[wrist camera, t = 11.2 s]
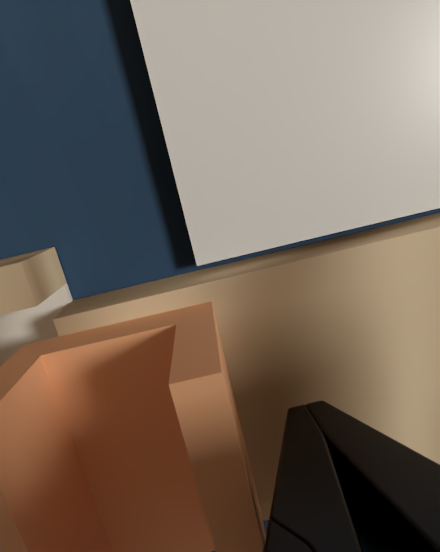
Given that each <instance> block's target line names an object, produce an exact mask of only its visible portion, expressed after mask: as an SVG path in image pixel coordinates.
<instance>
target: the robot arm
mask: <svg viewBox="0 0 440 552" xmlns="http://www.w3.org/2000/svg"><path fill="white" fill-rule="evenodd" d="M263 552H440V464H438V463H436V462H434V461H432V460H431V459H429V458H427V457H425V456H423V455H422V454H420V453H418V452H416V451H414V450H412V449H411V448H409V447H407V446H405V445H403V444H401V443H400V442H398V441H396V440H394V439H392V438H391V437H389V436H387V435H385V434H383V433H381V432H380V431H378V430H376V429H374V428H372V427H370V426H369V425H367V424H365V423H363V422H361V421H360V420H358V419H356V418H354V417H352V416H350V415H349V414H347V413H345V412H343V411H341V410H340V409H338V408H336V407H334V406H332V405H330V404H329V403H327V402H325V401H322V400H321V401H316V402H312V403H308V404H306V405H300V406H295V407H291V408H289V409H288V411H287V416H286V422H285V428H284V434H283V440H282V446H281V451H280V457H279V463H278V469H277V475H276V481H275V487H274V493H273V499H272V504H271V510H270V516H269V522H268V527H267V532H266V538H265V543H264V548H263Z"/></svg>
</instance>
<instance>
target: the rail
mask: <svg viewBox="0 0 440 552" xmlns="http://www.w3.org/2000/svg"><path fill="white" fill-rule="evenodd" d="M211 301H212V305H213V309H214V314H215V318H216V322H217V326H218V331H219V335H220V339H221V343H222V347H223V352H224V356H225V360H226V364H227V369H228V373H229V377H230V381H231V385H232V390H233V394H234V398H235V402H236V407H237V411H238V415H239V419H240V423H241V428H242V432H243V436H244V440H245V445H246V449H247V453H248V457H249V461H250V466H251V470H252V474H253V478H254V483H255V487H256V491H257V495H258V499H259V504H260V508H261V513H262V518H263V521H265V520H269V516H270V510H271V504H272V499H273V493H274V487H275V481H276V475H277V469H278V463H279V457H280V451H281V446H282V440H283V434H284V428H285V422H286V416H287V411H288V409H289V408H291V407H295V406H300V405H306V404H308V403H312V402H316V401H321V400H322V401H325V402H327V403H329V404H330V405H332V406H334V407H336V408H338V409H340V410H341V411H343V412H345V413H347V414H349V415H350V416H352V417H354V418H356V419H358V420H360V421H361V422H363V423H365V424H367V425H369V426H370V427H372V428H374V429H376V430H378V431H380V432H381V433H383V434H385V435H387V436H389V437H391V438H392V439H394V440H396V441H398V442H400V443H401V444H403V445H405V446H407V447H409V448H411V449H412V450H414V451H416V452H418V453H420V454H422V455H423V456H425V457H427V458H429V459H431V460H432V461H434V462H436V463H438V464H440V213H436V214H432V215H427V216H423V217H419V218H415V219H411V220H407V221H402V222H398V223H394V224H390V225H386V226H381V227H377V228H373V229H369V230H365V231H361V232H356V233H352V234H348V235H344V236H340V237H335V238H331V239H327V240H323V241H319V242H315V243H310V244H306V245H302V246H298V247H294V248H290V249H285V250H281V251H277V252H273V253H269V254H264V255H260V256H256V257H252V258H248V259H244V260H239V261H235V262H231V263H227V264H223V265H219V266H214V267H210V268H206V269H202V270H198V271H193V272H189V273H185V274H181V275H177V276H173V277H168V278H164V279H160V280H156V281H152V282H148V283H143V284H139V285H135V286H131V287H127V288H122V289H118V290H114V291H110V292H106V293H102V294H97V295H93V296H89V297H85V298H81V299H77V300H72V297H71V294H70V291H69V288H68V285H67V282H66V279H65V276H64V273H63V270H62V267H61V265H60V262H59V259H58V256H57V253H56V250H55V247H52V248H48V249H43V250H39V251H35V252H31V253H27V254H22V255H18V256H14V257H10V258H6V259H1V260H0V367H1V366H2V365H3V364H4V363H5V362H6V361H7V360H8V359H9V358H10V357H11V356H13V355H14V354H15V353H16V352H17V351H18V350H19V349H20V348H21V347H22V346H23V345H24V344H28V343H33V342H37V341H41V340H46V339H50V338H54V337H59V336H63V335H67V334H72V333H76V332H80V331H85V330H89V329H93V328H98V327H102V326H106V325H111V324H115V323H119V322H124V321H128V320H132V319H137V318H141V317H145V316H150V315H154V314H158V313H163V312H167V311H172V310H176V309H180V308H185V307H189V306H193V305H198V304H202V303H206V302H211Z"/></svg>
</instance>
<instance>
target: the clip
mask: <svg viewBox="0 0 440 552" xmlns="http://www.w3.org/2000/svg"><path fill="white" fill-rule="evenodd" d="M265 538H266V533H265V528H264V523H263V518H262V513H261V508H260V504H259V499H258V495H257V491H256V487H255V483H254V478H253V474H252V470H251V466H250V461H249V457H248V453H247V449H246V445H245V440H244V436H243V432H242V428H241V423H240V419H239V415H238V411H237V407H236V402H235V398H234V394H233V390H232V385H231V381H230V377H229V373H228V369H227V364H226V360H225V356H224V352H223V347H222V343H221V339H220V335H219V331H218V326H217V322H216V318H215V314H214V309H213V305H212V301H211V302H206V303H202V304H198V305H193V306H189V307H185V308H180V309H176V310H172V311H167V312H163V313H158V314H154V315H150V316H145V317H141V318H137V319H132V320H128V321H124V322H119V323H115V324H111V325H106V326H102V327H98V328H93V329H89V330H85V331H80V332H76V333H72V334H67V335H63V336H59V337H54V338H50V339H46V340H41V341H37V342H33V343H28V344H24V345H23V346H22V347H21V348H20V349H19V350H18V351H17V352H16V353H15V354H14V355H13V356H11V357H10V358H9V359H8V360H7V361H6V362H5V363H4V364H3V365H2V366H1V367H0V552H211V551H216V552H263V548H264V543H265Z"/></svg>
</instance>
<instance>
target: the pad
mask: <svg viewBox="0 0 440 552" xmlns="http://www.w3.org/2000/svg"><path fill="white" fill-rule="evenodd" d="M130 2H131V6H132V10H133V14H134V18H135V22H136V26H137V30H138V34H139V38H140V42H141V46H142V50H143V54H144V58H145V62H146V66H147V70H148V74H149V78H150V81H151V85H152V89H153V93H154V97H155V101H156V105H157V109H158V113H159V117H160V121H161V125H162V129H163V133H164V137H165V141H166V145H167V149H168V153H169V157H170V161H171V165H172V169H173V173H174V177H175V181H176V185H177V189H178V193H179V197H180V201H181V205H182V209H183V213H184V217H185V221H186V225H187V229H188V233H189V237H190V241H191V245H192V249H193V253H194V256H195V260H196V264H197V266H199V265H203V264H207V263H212V262H216V261H220V260H224V259H228V258H233V257H237V256H241V255H245V254H249V253H253V252H258V251H262V250H266V249H270V248H274V247H278V246H283V245H287V244H291V243H295V242H299V241H304V240H308V239H312V238H316V237H320V236H324V235H329V234H333V233H337V232H341V231H345V230H350V229H354V228H358V227H362V226H366V225H370V224H375V223H379V222H383V221H387V220H391V219H395V218H400V217H404V216H408V215H412V214H416V213H421V212H425V211H429V210H433V209H437V208H440V0H130Z"/></svg>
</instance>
